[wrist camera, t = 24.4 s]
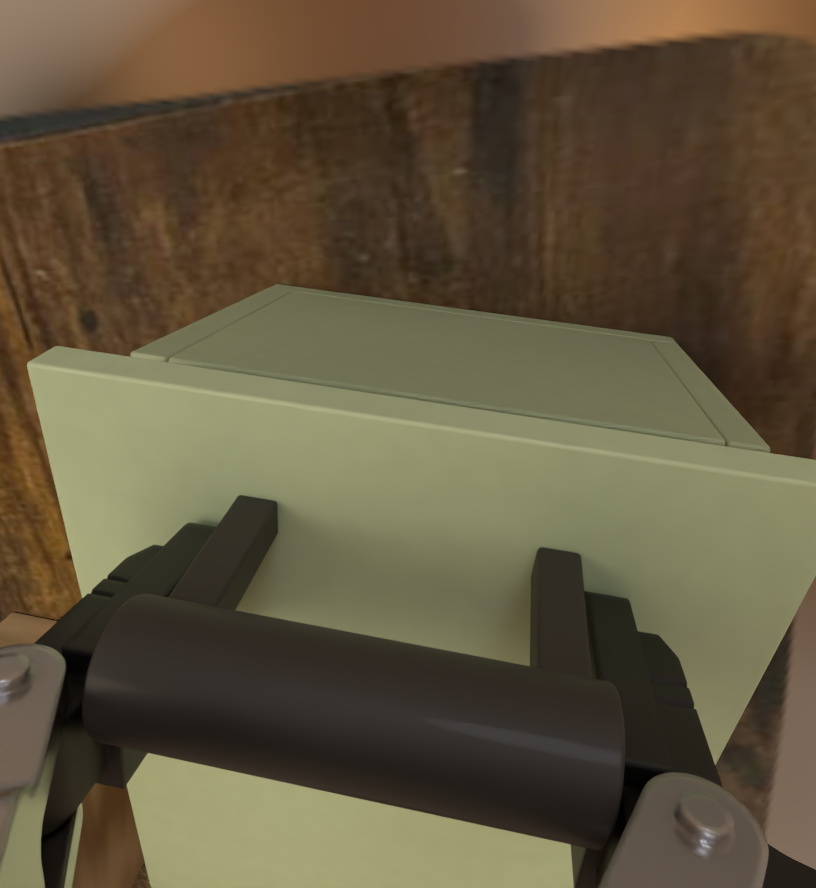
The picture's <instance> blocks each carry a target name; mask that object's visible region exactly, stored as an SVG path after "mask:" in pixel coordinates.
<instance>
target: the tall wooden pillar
mask: <svg viewBox="0 0 816 888" xmlns="http://www.w3.org/2000/svg"><path fill="white" fill-rule="evenodd" d="M56 622H58V621H54V620H49V619H44V618H39V617H34V616H29V615H24V614H19V613H14V612H13V613H11V614H10V615H9V616H8V617H6V618H5V619H4V620H3V621H2V622H1V623H0V647H4V646H8V645H15V644H27V643H28V644H34V643H35V642H36V641H37V640H38V639H39V638H40V637H41V636H42V635H43V634H45V633H46V632H47V631H48V630H49V629H50V628H51V627H52V626H53V625H54V624H55V623H56ZM82 808H83V822H82V828H81V834H80V840H79V847H78V853H77V859H76V865H75V872H74V878H73V884H72V888H131V886H132V884H133V882H134V880H135V879H136V877H137V875H138V873H139V871H140V869H141V868H142V866H143V864H144V862H145V861H144V857H143V853H142V848H141V844H140V840H139V836H138V831H137V827H136V823H135V819H134V815H133V810H132V806H131V802H130V798H129V794H128V789H127V785H126V786H125V788H124V789H121V788H116V787H112V786H107V785H103V784H98V783H95V785H94V786H93V787H92V789H91V790H90V791H89V793H88V794H87V796H86V797H85V798H84V800H83V801H82Z"/></svg>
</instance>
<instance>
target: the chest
mask: <svg viewBox="0 0 816 888" xmlns="http://www.w3.org/2000/svg"><path fill="white" fill-rule="evenodd" d="M131 357H134V358H141V359H148V360H154V361H161V362H168V363H174V364H181V365H188V366H194V367H201V368H208V369H214V370H221V371H228V372H234V373H241V374H247V375H254V376H261V377H267V378H274V379H281V380H287V381H294V382H301V383H307V384H314V385H321V386H327V387H334V388H341V389H347V390H354V391H361V392H367V393H374V394H380V395H387V396H394V397H400V398H407V399H414V400H420V401H427V402H434V403H440V404H447V405H454V406H460V407H467V408H474V409H480V410H487V411H494V412H500V413H507V414H513V415H520V416H527V417H533V418H540V419H547V420H553V421H560V422H567V423H573V424H580V425H587V426H593V427H600V428H607V429H613V430H620V431H627V432H633V433H640V434H646V435H653V436H660V437H666V438H673V439H680V440H686V441H693V442H700V443H706V444H713V445H720V446H726V447H733V448H740V449H746V450H753V451H760V452H766V453H770V447H769V446H768V445H767V444H766V442H765V441H764V440H763V439H762V438H761V437H760V436H759V435H758V434H757V432H756V431H755V430H754V429H753V428H752V427H751V426H750V425H749V423H748V422H747V421H746V420H745V419H744V418H743V417H742V416H741V415H740V413H739V412H738V411H737V410H736V409H735V408H734V407H733V406H732V404H731V403H730V402H729V401H728V400H727V399H726V398H725V397H724V396H723V394H722V393H721V392H720V391H719V390H718V389H717V388H716V387H715V385H714V384H713V383H712V382H711V381H710V380H709V379H708V378H707V377H706V375H705V374H704V373H703V372H702V371H701V370H700V369H699V368H698V366H697V365H696V364H695V363H694V362H693V361H692V360H691V359H690V358H689V356H688V355H687V354H686V353H685V352H684V351H683V350H682V349H681V348H680V346H679V345H678V344H677V343H676V342H675V340H674V339H673V338H671V337H666V336H659V335H651V334H644V333H636V332H629V331H622V330H614V329H607V328H599V327H592V326H584V325H577V324H570V323H562V322H555V321H547V320H540V319H532V318H525V317H518V316H510V315H503V314H495V313H488V312H481V311H473V310H466V309H458V308H451V307H443V306H436V305H429V304H421V303H414V302H406V301H399V300H391V299H384V298H377V297H369V296H362V295H354V294H347V293H339V292H332V291H325V290H317V289H310V288H302V287H295V286H288V285H280V284H276V285H274V286H272V287H270V288H267V289H265V290H263V291H261V292H259V293H256V294H254V295H252V296H250V297H248V298H246V299H244V300H241V301H239V302H237V303H235V304H233V305H231V306H229V307H226V308H224V309H222V310H220V311H218V312H216V313H214V314H212V315H209V316H207V317H205V318H203V319H201V320H199V321H197V322H194V323H192V324H190V325H188V326H186V327H184V328H182V329H179V330H177V331H175V332H173V333H171V334H169V335H167V336H165V337H162V338H160V339H158V340H156V341H154V342H152V343H150V344H147V345H145V346H143V347H141V348H139V349H137V350H135V351H132V352H131Z"/></svg>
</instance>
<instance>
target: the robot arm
mask: <svg viewBox="0 0 816 888" xmlns="http://www.w3.org/2000/svg"><path fill="white" fill-rule="evenodd" d="M215 528H216V527H214V526H208V525H203V524H197V523H187V524H186V525H184V526H183V527H182V528H181V529H180V530H179V531H178V532H177V533H176V534H175V535H174V536H173V537H172V538H171V539H170V540H169V541H168V542H167V543H166V544H165V545H164V546H159V545H152V546H150V547H148V548H146V549H144V550H141V551H139V552H137V553H135V554H133V555H131V556H129V557H127V558H126V559H125V560H124V561H122V562H121V563H120V564H119V565H118V566H117V567H116V568H115V569H114V570H113V571H112V572H111V573H109V574H108V577H107V579H103V580H102V581H101V582H100V583H99V584H98V585H96V586H95V587H94V588H93V589H92V592H91V594H89V593H88V594H87V595H86V596H85V597H83V598H82V599H81V600H80V601H79V602H78V603H77V604H76V605H75V606H74V607H73V608H72V609H71V610H69V611H68V612H67V613H66V614H65V615H64V616H63V617H62V618H61V619H60V620H59V621H58V622H56V623H55V624H54V625H53V626H52V627H51V628H50V629H49V630H48V631H47V632H46V633H45V634H43V635H42V636H41V637H40V638H39V639H38V640H37V641H36V642H35V643H34V644H28V643H27V644H15V645H8V646H4V647H0V888H72V884H73V878H74V872H75V865H76V859H77V853H78V847H79V840H80V834H81V828H82V822H83V808H82V801H83V800H84V798H85V797H86V796H87V794H88V793H89V791H90V790H91V789H92V787H93V786H94V785H95V783H98V784H103V785H107V786H112V787H116V788H121V789H124V788H125V786H126V785H127V783H128V782H129V780H130V779H131V777H132V776H133V774H134V773H135V771H136V770H137V768H138V767H139V765H140V764H141V762H142V761H143V759H144V758H145V756H146V755H147V753H146V752H141V751H137V750H132V749H127V748H123V747H118V746H114V745H109V744H104V743H100V742H97V741H94V740H93V739H92V738H91V737H90V736H89V735H88V734H87V732H86V730H85V728H84V725H83V719H82V696H83V689H84V683H85V678H86V674H87V670H88V667H89V664H90V661H91V658H92V655H93V653H94V650H95V648H96V646H97V643H98V641H99V639H100V637H101V635H102V633H103V631H104V630H105V628H106V626H107V625H108V623H109V621H110V620H111V619H112V617H113V616H114V614H115V613H116V612H117V611H118V609H119V608H120V607H121V606H122V605H123V604H124V603H125V602H127V601H128V600H129V599H131V598H132V597H134V596H137V595H140V594H152V595H157V596H163V597H169V595H170V594H171V592H172V591H173V589H174V588H175V586H176V585H177V584H178V582H179V581H180V579H181V578H182V576H183V575H184V573H185V572H186V571H187V569H188V568H189V566H190V565H191V563H192V562H193V560H194V559H195V557H196V556H197V555H198V553H199V552H200V550H201V549H202V547H203V546H204V544H205V543H206V542H207V540H208V539H209V537H210V536H211V534H212V533H213V531H214V530H215ZM584 594H585V606H586V617H587V629H588V641H589V652H590V664H591V675H592V678H595V679H600V680H605V681H609V682H611V683H612V684H613V685H614V686H615V687H616V689H617V691H618V694H619V697H620V701H621V706H622V711H623V718H624V730H625V768H624V781H623V790H622V797H621V804H620V809H619V814H618V818H617V822H616V825H615V829H614V832H613V834H612V837H611V839H610V841H609V843H608V845H607V846H606V847H605V848H604V849H601V850H594V849H589V848H584V847H580V846H575V845H571V856H572V870H573V883H574V888H816V870H815V869H813V868H810V867H808V866H806V865H804V864H802V863H800V862H798V861H796V860H794V859H792V858H790V857H788V856H786V855H784V854H783V853H781V852H779V851H778V850H776V849H775V848H773V847H772V846H770V845H769V844H768V843H767V839H766V837H765V834H764V831H763V830H762V828H761V826H760V824H759V822H758V821H757V819H756V818H755V817H754V815H753V814H752V813H751V812H750V810H749V809H748V808H747V807H746V806H745V805H744V804H743V803H742V802H741V801H740V800H738V799H737V798H736V797H735V796H734V795H732V794H731V793H730V792H728V791H727V790H725V789H724V788H723V787H722V784H721V781H720V778H719V775H718V772H717V769H716V766H715V763H714V760H713V757H712V755H711V752H710V749H709V746H708V743H707V740H706V737H705V734H704V731H703V728H702V725H701V722H700V719H699V716H698V713H697V710H696V709H694V701H693V698H692V695H691V692H690V689H689V688H687V681H686V678H685V675H684V672H683V669H682V666H681V663H680V660H679V658H678V657H677V655H676V654H675V653H674V652H673V651H672V650H671V649H670V647H669V646H668V645H667V644H666V643H665V642H664V641H663V639H662V638H661V637H660V636H659V635H656V634H651V633H645V632H640V631H637V627H636V623H635V619H634V615H633V612H632V608H631V604H630V601H629V599H627V598H622V597H616V596H610V595H604V594H599V593H593V592H587V591H584Z"/></svg>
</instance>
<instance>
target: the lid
mask: <svg viewBox="0 0 816 888" xmlns="http://www.w3.org/2000/svg"><path fill="white" fill-rule="evenodd" d="M27 369H28V373H29V377H30V381H31V386H32V390H33V394H34V398H35V402H36V407H37V411H38V415H39V419H40V423H41V428H42V432H43V436H44V440H45V444H46V449H47V453H48V457H49V461H50V465H51V470H52V474H53V478H54V482H55V486H56V491H57V495H58V499H59V503H60V508H61V512H62V516H63V520H64V524H65V529H66V533H67V537H68V541H69V545H70V550H71V554H72V558H73V562H74V566H75V571H76V575H77V579H78V583H79V587H80V592H81V596H82V598H83V597H85V596H86V595H87V594H88V593H89V594H91V592H92V589H93V588H94V587H95V586H96V585H98V584H99V583H100V582H101V581H102V580H103V579H107V577H108V574H109V573H111V572H112V571H113V570H114V569H115V568H116V567H117V566H118V565H119V564H120V563H121V562H122V561H124V560H125V559H126V558H127V557H129V556H131V555H133V554H135V553H137V552H139V551H141V550H144V549H146V548H148V547H150V546H152V545H159V546H164V545H165V544H166V543H167V542H168V541H169V540H170V539H171V538H172V537H173V536H174V535H175V534H176V533H177V532H178V531H179V530H180V529H181V528H182V527H183V526H184V525H186V524H187V523H197V524H203V525H208V526H214V527H216V528H215V530H214V531H213V533H212V534H211V536H210V537H209V539H208V540H207V542H206V543H205V544H204V546H203V547H202V549H201V550H200V552H199V553H198V555H197V556H196V557H195V559H194V560H193V562H192V563H191V565H190V566H189V568H188V569H187V571H186V572H185V573H184V575H183V576H182V578H181V579H180V581H179V582H178V584H177V585H176V586H175V588H174V589H173V591H172V592H171V594H170V595H169V597H163V596H157V595H152V594H140V595H137V596H134V597H132V598H131V599H129V600H128V601H127V602H125V603H124V604H123V605H122V606H121V607H120V608H119V609H118V611H117V612H116V613H115V614H114V616H113V617H112V619H111V620H110V621H109V623H108V625H107V626H106V628H105V630H104V631H103V633H102V635H101V637H100V639H99V641H98V643H97V646H96V648H95V650H94V653H93V655H92V658H91V661H90V664H89V667H88V670H87V674H86V678H85V683H84V689H83V696H82V719H83V725H84V728H85V730H86V732H87V734H88V735H89V736H90V737H91V738H92V739H93V740H94V741H97V742H100V743H104V744H109V745H114V746H118V747H123V748H127V749H132V750H137V751H141V752H146V753H147V755H146V756H145V758H144V759H143V761H142V762H141V764H140V765H139V767H138V768H137V770H136V771H135V773H134V774H133V776H132V777H131V779H130V780H129V782H128V783H127V789H128V794H129V798H130V802H131V806H132V810H133V815H134V819H135V823H136V827H137V831H138V836H139V840H140V844H141V848H142V853H143V857H144V861H145V865H146V869H147V874H148V878H149V882H150V886H151V887H152V888H574V883H573V870H572V856H571V845H575V846H580V847H584V848H589V849H594V850H601V849H604V848H605V847H606V846H607V845H608V843H609V841H610V839H611V837H612V834H613V832H614V829H615V825H616V822H617V818H618V814H619V809H620V804H621V797H622V790H623V781H624V768H625V730H624V718H623V711H622V706H621V701H620V697H619V694H618V691H617V689H616V687H615V686H614V685H613V684H612V683H611V682H609V681H605V680H600V679H595V678H592V675H591V664H590V652H589V641H588V629H587V617H586V606H585V594H584V591H587V592H593V593H599V594H604V595H610V596H616V597H622V598H627V599H629V601H630V604H631V608H632V612H633V615H634V619H635V623H636V627H637V631H640V632H645V633H651V634H656V635H659V636H660V637H661V638H662V639H663V641H664V642H665V643H666V644H667V645H668V646H669V647H670V649H671V650H672V651H673V652H674V653H675V654H676V655H677V657H678V658H679V660H680V663H681V666H682V669H683V672H684V675H685V678H686V681H687V688H689V689H690V692H691V695H692V698H693V701H694V709H696V710H697V713H698V716H699V719H700V722H701V725H702V728H703V731H704V734H705V737H706V740H707V743H708V746H709V749H710V752H711V755H712V757H713V760H714V763H715V765H716V763H717V761H718V759H719V757H720V755H721V753H722V751H723V750H724V748H725V746H726V744H727V742H728V740H729V738H730V736H731V734H732V733H733V731H734V729H735V727H736V725H737V723H738V721H739V719H740V718H741V716H742V714H743V712H744V710H745V708H746V706H747V704H748V702H749V701H750V699H751V697H752V695H753V693H754V691H755V689H756V687H757V685H758V684H759V682H760V680H761V678H762V676H763V674H764V672H765V670H766V668H767V667H768V665H769V663H770V661H771V659H772V657H773V655H774V653H775V652H776V650H777V648H778V646H779V644H780V642H781V640H782V638H783V636H784V635H785V633H786V631H787V629H788V627H789V625H790V623H791V621H792V619H793V618H794V616H795V614H796V612H797V610H798V608H799V606H800V604H801V602H802V601H803V599H804V597H805V595H806V593H807V591H808V589H809V587H810V586H811V584H812V582H813V580H814V578H815V576H816V460H813V459H806V458H799V457H793V456H786V455H779V454H773V453H766V452H760V451H753V450H746V449H740V448H733V447H726V446H720V445H713V444H706V443H700V442H693V441H686V440H680V439H673V438H666V437H660V436H653V435H646V434H640V433H633V432H627V431H620V430H613V429H607V428H600V427H593V426H587V425H580V424H573V423H567V422H560V421H553V420H547V419H540V418H533V417H527V416H520V415H513V414H507V413H500V412H494V411H487V410H480V409H474V408H467V407H460V406H454V405H447V404H440V403H434V402H427V401H420V400H414V399H407V398H400V397H394V396H387V395H380V394H374V393H367V392H361V391H354V390H347V389H341V388H334V387H327V386H321V385H314V384H307V383H301V382H294V381H287V380H281V379H274V378H267V377H261V376H254V375H247V374H241V373H234V372H228V371H221V370H214V369H208V368H201V367H194V366H188V365H181V364H174V363H168V362H161V361H154V360H148V359H141V358H134V357H128V356H121V355H114V354H108V353H101V352H95V351H88V350H81V349H75V348H68V347H61V346H55V347H53V348H51V349H50V350H48V351H46V352H45V353H43V354H41V355H39V356H38V357H36V358H34V359H33V360H31V361H29V362H28V363H27Z"/></svg>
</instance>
